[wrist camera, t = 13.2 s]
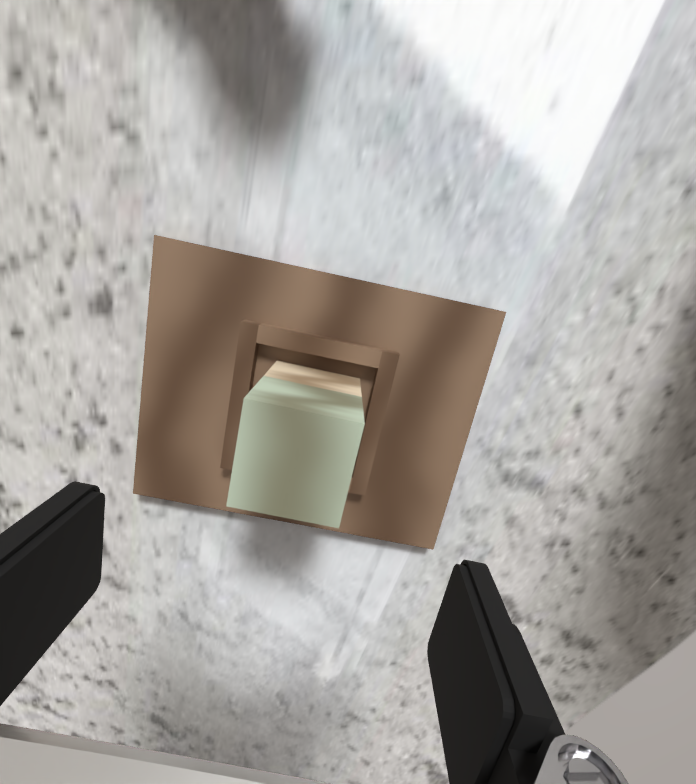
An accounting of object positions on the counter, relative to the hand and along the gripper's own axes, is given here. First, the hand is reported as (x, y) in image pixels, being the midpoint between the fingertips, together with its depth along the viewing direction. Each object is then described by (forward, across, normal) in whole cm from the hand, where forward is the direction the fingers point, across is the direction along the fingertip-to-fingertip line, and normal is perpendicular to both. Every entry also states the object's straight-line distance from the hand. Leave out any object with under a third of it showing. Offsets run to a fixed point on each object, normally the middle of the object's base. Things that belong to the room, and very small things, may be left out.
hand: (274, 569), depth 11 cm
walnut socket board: (+16, +1, +1) cm, 16 cm away
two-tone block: (+15, +1, +1) cm, 15 cm away
